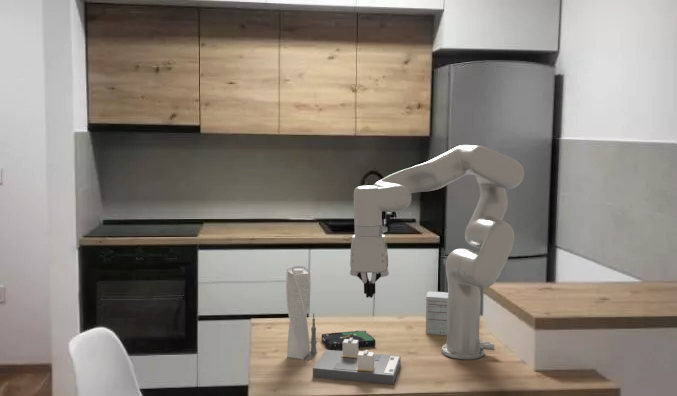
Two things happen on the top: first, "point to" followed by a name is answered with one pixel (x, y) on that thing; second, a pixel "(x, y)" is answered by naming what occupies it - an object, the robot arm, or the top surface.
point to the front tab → (365, 360)
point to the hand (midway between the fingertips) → (369, 296)
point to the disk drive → (336, 339)
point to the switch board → (346, 368)
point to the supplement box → (436, 313)
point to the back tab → (350, 347)
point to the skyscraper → (299, 314)
